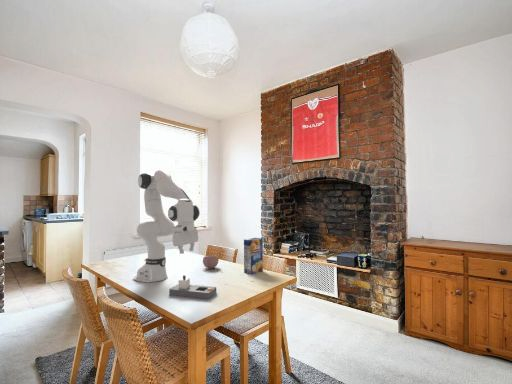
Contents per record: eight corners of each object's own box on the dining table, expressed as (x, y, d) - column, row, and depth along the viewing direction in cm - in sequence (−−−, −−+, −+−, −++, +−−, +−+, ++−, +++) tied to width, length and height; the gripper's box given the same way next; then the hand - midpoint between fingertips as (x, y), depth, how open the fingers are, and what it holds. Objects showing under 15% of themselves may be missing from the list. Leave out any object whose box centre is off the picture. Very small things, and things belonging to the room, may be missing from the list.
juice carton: (255, 269, 208) (255, 237, 209) (262, 271, 203) (262, 238, 203) (244, 272, 200) (243, 239, 200) (251, 274, 194) (250, 240, 195)
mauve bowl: (219, 266, 218) (219, 251, 218) (217, 270, 206) (217, 255, 206) (204, 266, 219) (204, 251, 219) (201, 270, 207) (201, 255, 207)
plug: (178, 294, 154) (178, 276, 154) (183, 291, 158) (182, 274, 159) (185, 295, 153) (185, 277, 153) (189, 292, 157) (189, 274, 157)
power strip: (169, 296, 153) (169, 288, 153) (179, 290, 162) (179, 282, 162) (208, 300, 146) (208, 291, 146) (216, 294, 156) (216, 286, 156)
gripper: (191, 226, 166) (192, 249, 165) (170, 229, 147) (170, 255, 146) (200, 225, 164) (201, 249, 163) (180, 228, 145) (181, 255, 144)
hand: (186, 252), depth 154 cm, fingers open, 8 cm apart
